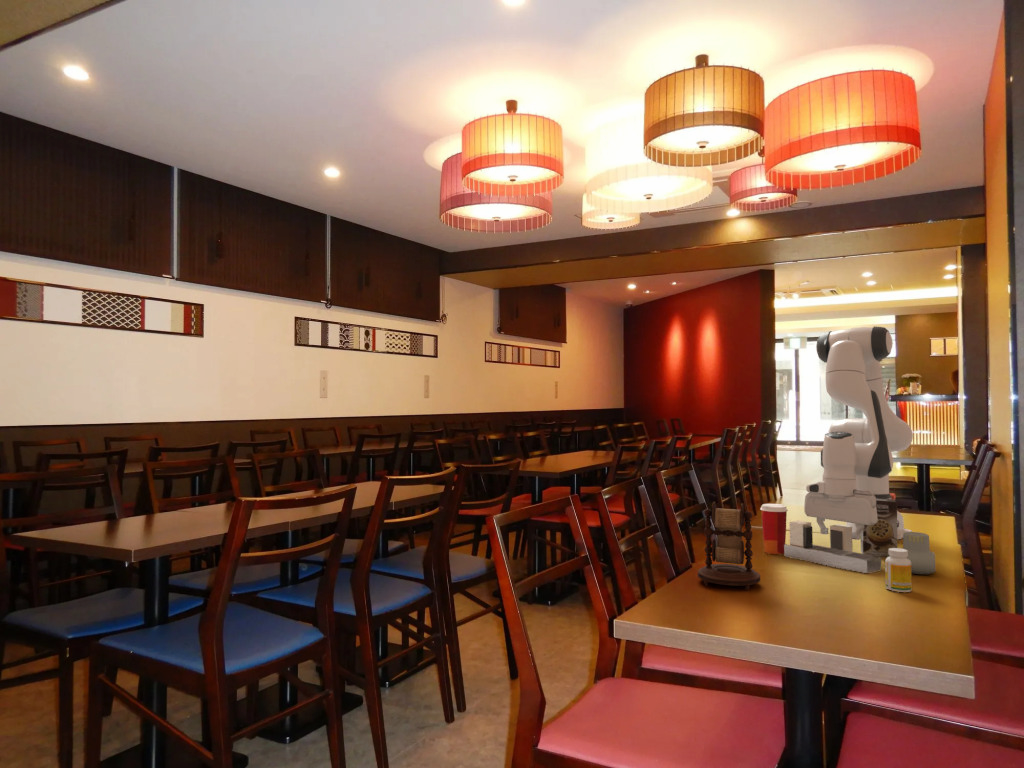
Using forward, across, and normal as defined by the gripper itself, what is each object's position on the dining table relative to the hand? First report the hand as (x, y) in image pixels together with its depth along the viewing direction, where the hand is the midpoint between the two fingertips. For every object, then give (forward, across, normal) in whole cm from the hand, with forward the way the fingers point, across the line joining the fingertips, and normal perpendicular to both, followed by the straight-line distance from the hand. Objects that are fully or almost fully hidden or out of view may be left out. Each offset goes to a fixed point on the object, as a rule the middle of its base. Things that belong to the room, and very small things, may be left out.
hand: (839, 536), depth 193 cm
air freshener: (+6, -20, -1) cm, 21 cm away
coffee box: (+6, -4, -14) cm, 15 cm away
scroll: (+7, +1, +48) cm, 49 cm away
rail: (+6, -2, +8) cm, 11 cm away
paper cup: (+6, +15, +9) cm, 19 cm away
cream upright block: (+6, 0, -1) cm, 6 cm away
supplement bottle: (+7, -26, +20) cm, 34 cm away
